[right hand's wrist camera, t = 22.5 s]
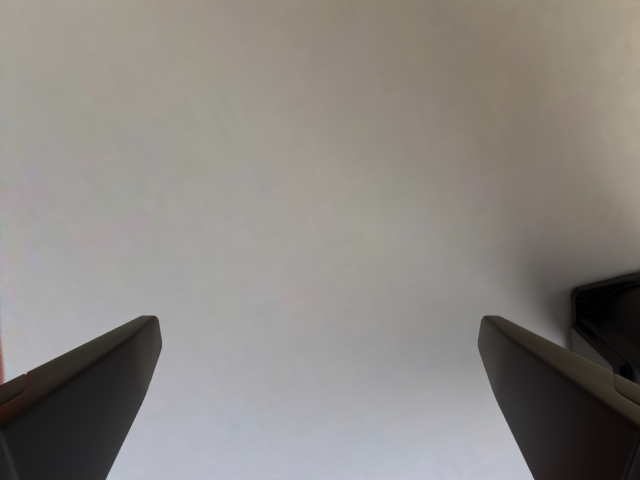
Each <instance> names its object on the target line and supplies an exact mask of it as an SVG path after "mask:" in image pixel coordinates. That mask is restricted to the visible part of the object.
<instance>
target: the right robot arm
mask: <svg viewBox="0 0 640 480" xmlns="http://www.w3.org/2000/svg"><path fill="white" fill-rule="evenodd" d="M582 294H584V296H583V297H582V298H579V297H580V296H581V295H582ZM571 306H572V318H573V323H572V324H571V327H570V330H571V341H572V352H571V351H569V350H567V349H565V348H563V347H561V346H559V345H557V344H555V343H553V342H551V341H549V340H547V339H545V338H542V337H540V336H538V335H536V334H534V333H532V332H530V331H528V330H526V329H524V328H522V327H520V326H518V325H516V324H514V323H512V322H510V321H508V320H506V319H504V318H502V317H500V316H484V317H483V318H482V320H481V326H480V332H479V338H478V348H479V352H480V355H481V358H482V361H483V364H484V367H485V370H486V373H487V375H488V378H489V381H490V384H491V387H492V390H493V393H494V395H495V398H496V400H497V402H498V405H499V407H500V409H501V411H502V413H503V415H504V417H505V419H506V421H507V423H508V425H509V428H510V430H511V432H512V434H513V436H514V438H515V440H516V442H517V444H518V446H519V448H520V451H521V453H522V455H523V457H524V459H525V461H526V463H527V465H528V467H529V469H530V471H531V474H532V476H533V478H534V480H640V273H636V274H632V275H628V276H624V277H619V278H615V279H611V280H607V281H603V282H599V283H594V284H590V285H586V286H582V287H578V288H576V289H575V290H573V292H572V293H571ZM161 348H162V338H161V332H160V326H159V320H158V318H157V317H156V316H140V317H138V318H136V319H134V320H132V321H130V322H128V323H126V324H124V325H122V326H120V327H118V328H116V329H114V330H112V331H110V332H108V333H106V334H104V335H102V336H100V337H98V338H95V339H93V340H91V341H89V342H87V343H85V344H83V345H81V346H79V347H77V348H75V349H73V350H71V351H69V352H67V353H65V354H63V355H61V356H59V357H57V358H55V359H53V360H51V361H49V362H47V363H45V364H43V365H41V366H39V367H37V368H35V369H33V370H31V371H29V372H27V374H23V375H21V376H19V377H17V378H15V379H13V380H11V381H8V382H6V383H4V384H2V385H0V480H106V478H107V476H108V474H109V471H110V469H111V467H112V465H113V463H114V461H115V459H116V457H117V455H118V453H119V451H120V448H121V446H122V444H123V442H124V440H125V438H126V436H127V434H128V432H129V430H130V428H131V425H132V423H133V421H134V419H135V417H136V415H137V413H138V411H139V409H140V407H141V405H142V402H143V400H144V398H145V395H146V393H147V390H148V387H149V384H150V381H151V378H152V375H153V373H154V370H155V367H156V364H157V361H158V358H159V355H160V352H161Z"/></svg>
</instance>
